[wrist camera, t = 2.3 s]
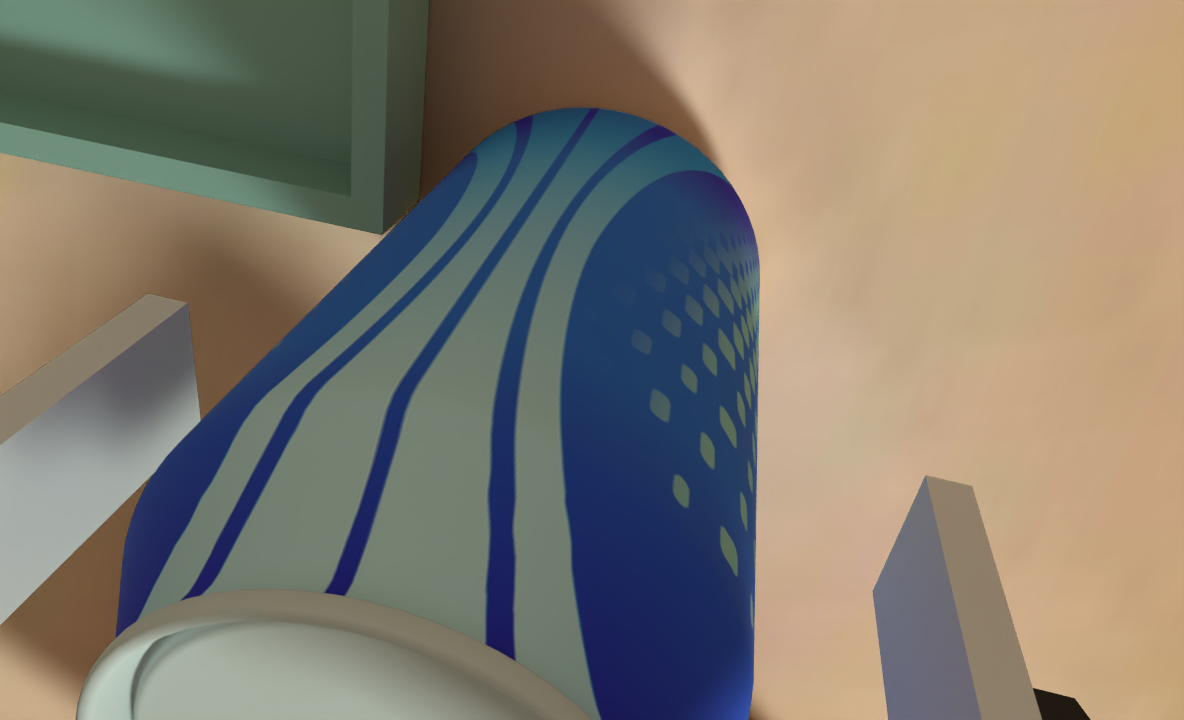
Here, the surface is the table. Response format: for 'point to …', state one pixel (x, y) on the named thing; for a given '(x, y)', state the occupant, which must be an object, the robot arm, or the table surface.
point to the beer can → (477, 465)
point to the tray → (226, 98)
